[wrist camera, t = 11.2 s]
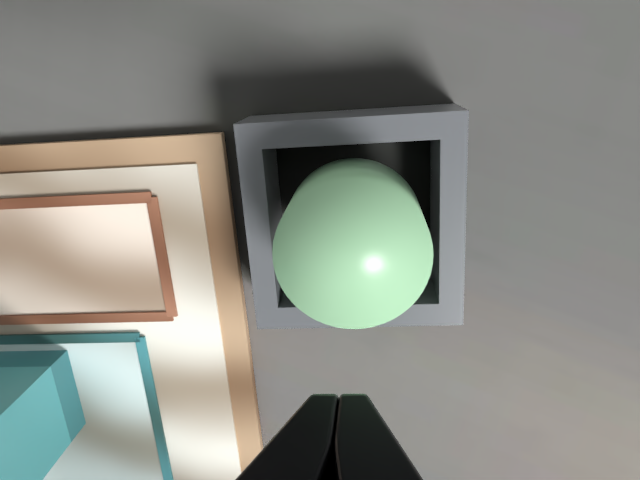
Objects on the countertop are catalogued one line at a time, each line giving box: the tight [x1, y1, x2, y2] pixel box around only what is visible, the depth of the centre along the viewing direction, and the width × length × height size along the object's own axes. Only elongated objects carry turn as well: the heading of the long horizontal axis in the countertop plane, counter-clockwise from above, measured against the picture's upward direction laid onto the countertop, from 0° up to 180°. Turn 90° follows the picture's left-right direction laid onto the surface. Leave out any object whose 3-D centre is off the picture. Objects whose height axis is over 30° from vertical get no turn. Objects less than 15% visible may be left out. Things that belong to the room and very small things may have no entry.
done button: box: [272, 158, 433, 329], centre depth 16 cm, size 4×4×3 cm
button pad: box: [233, 103, 469, 329], centre depth 18 cm, size 7×7×2 cm
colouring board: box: [0, 132, 263, 480], centre depth 22 cm, size 18×15×1 cm
